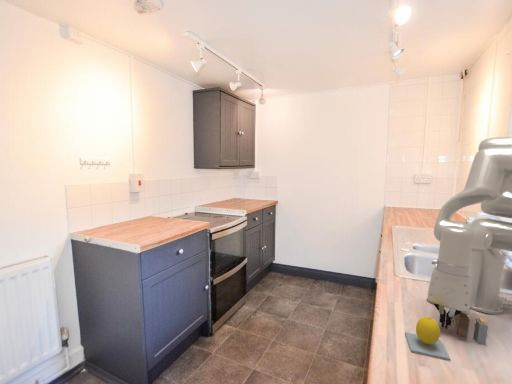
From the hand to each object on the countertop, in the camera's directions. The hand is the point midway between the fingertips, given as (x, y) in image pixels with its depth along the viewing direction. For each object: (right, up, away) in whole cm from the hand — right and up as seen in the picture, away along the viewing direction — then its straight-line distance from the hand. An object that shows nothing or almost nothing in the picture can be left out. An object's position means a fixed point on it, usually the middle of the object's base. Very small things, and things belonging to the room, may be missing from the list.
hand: (444, 326), depth 82 cm
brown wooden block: (+5, -1, +1) cm, 5 cm away
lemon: (-10, -2, -7) cm, 12 cm away
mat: (-10, -2, -7) cm, 13 cm away
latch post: (+7, -2, -4) cm, 8 cm away
